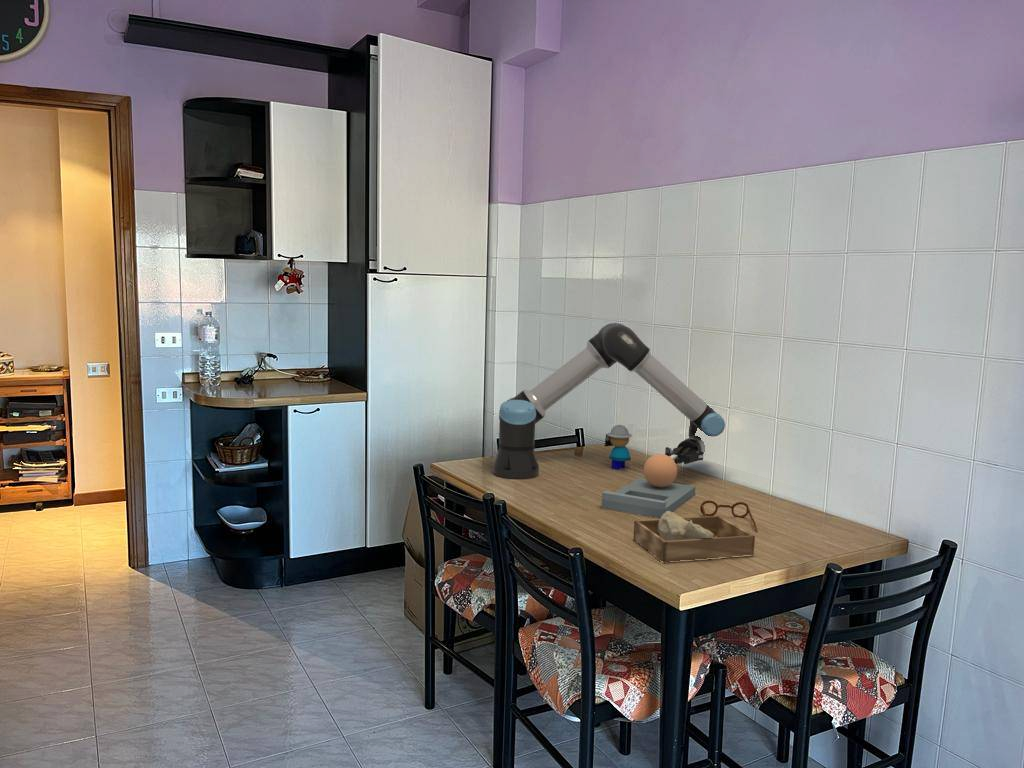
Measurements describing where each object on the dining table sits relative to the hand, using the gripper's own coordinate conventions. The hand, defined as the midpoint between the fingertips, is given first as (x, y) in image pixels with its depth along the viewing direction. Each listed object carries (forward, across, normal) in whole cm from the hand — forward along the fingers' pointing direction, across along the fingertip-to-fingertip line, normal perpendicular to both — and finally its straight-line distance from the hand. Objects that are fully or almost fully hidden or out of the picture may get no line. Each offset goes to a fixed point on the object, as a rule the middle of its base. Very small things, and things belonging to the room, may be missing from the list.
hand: (668, 462), depth 245 cm
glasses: (+24, -25, -9) cm, 36 cm away
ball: (+7, 0, -1) cm, 7 cm away
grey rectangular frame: (+15, 0, -8) cm, 18 cm away
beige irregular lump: (+50, -23, -9) cm, 56 cm away
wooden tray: (+49, -23, -8) cm, 55 cm away
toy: (-18, +23, -9) cm, 31 cm away
